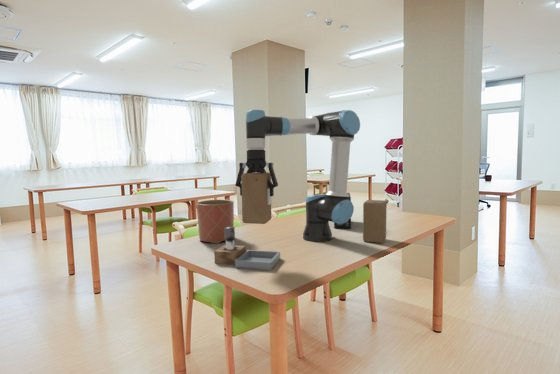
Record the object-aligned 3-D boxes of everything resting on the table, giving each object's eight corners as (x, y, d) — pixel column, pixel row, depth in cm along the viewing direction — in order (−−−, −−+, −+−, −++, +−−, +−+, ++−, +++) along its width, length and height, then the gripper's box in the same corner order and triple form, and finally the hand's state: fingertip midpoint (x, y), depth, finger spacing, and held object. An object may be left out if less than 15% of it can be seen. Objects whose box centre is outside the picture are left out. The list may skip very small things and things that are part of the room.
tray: (280, 258, 142) (280, 251, 142) (270, 270, 128) (270, 262, 127) (248, 256, 145) (247, 249, 145) (235, 267, 131) (235, 260, 131)
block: (386, 239, 170) (386, 200, 168) (383, 244, 161) (384, 203, 159) (366, 237, 174) (366, 199, 172) (362, 242, 165) (362, 202, 163)
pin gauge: (237, 258, 143) (236, 226, 141) (233, 261, 139) (232, 229, 137) (228, 258, 144) (226, 226, 142) (224, 261, 140) (222, 228, 138)
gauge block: (245, 257, 145) (245, 245, 144) (237, 264, 135) (236, 252, 135) (224, 255, 147) (224, 244, 147) (214, 263, 138) (214, 251, 137)
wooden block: (265, 224, 131) (265, 173, 129) (241, 223, 133) (240, 173, 131) (271, 219, 140) (271, 172, 138) (249, 218, 142) (248, 172, 141)
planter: (217, 246, 163) (216, 205, 161) (190, 241, 173) (188, 203, 171) (242, 237, 179) (240, 200, 177) (215, 233, 189) (214, 198, 187)
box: (334, 220, 218) (334, 192, 216) (349, 221, 216) (349, 192, 215) (333, 228, 196) (333, 196, 194) (351, 229, 194) (351, 196, 192)
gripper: (285, 149, 134) (286, 203, 136) (233, 149, 140) (234, 202, 142) (280, 148, 127) (281, 206, 129) (226, 149, 133) (227, 204, 135)
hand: (256, 204), depth 136 cm, fingers closed on wooden block, 10 cm apart
